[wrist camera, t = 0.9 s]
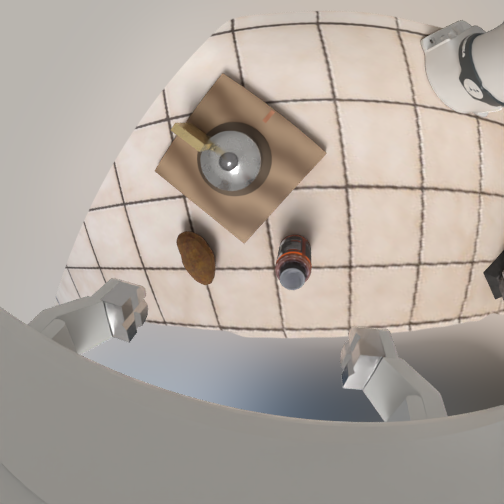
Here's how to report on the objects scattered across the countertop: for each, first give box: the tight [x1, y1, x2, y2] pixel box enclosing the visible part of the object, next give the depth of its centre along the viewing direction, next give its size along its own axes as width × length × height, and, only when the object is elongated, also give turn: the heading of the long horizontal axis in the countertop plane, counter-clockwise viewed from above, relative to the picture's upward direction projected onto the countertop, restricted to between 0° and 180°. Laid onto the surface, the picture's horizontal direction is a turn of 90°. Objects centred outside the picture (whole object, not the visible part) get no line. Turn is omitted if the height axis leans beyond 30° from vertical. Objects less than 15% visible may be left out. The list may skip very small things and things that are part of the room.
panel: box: [155, 74, 326, 243], centre depth 45 cm, size 22×22×2 cm
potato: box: [177, 231, 215, 285], centre depth 52 cm, size 7×12×7 cm, turn 30°
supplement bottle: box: [275, 235, 311, 290], centre depth 46 cm, size 6×6×11 cm
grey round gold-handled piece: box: [171, 123, 262, 191], centre depth 41 cm, size 15×10×6 cm, turn 51°
